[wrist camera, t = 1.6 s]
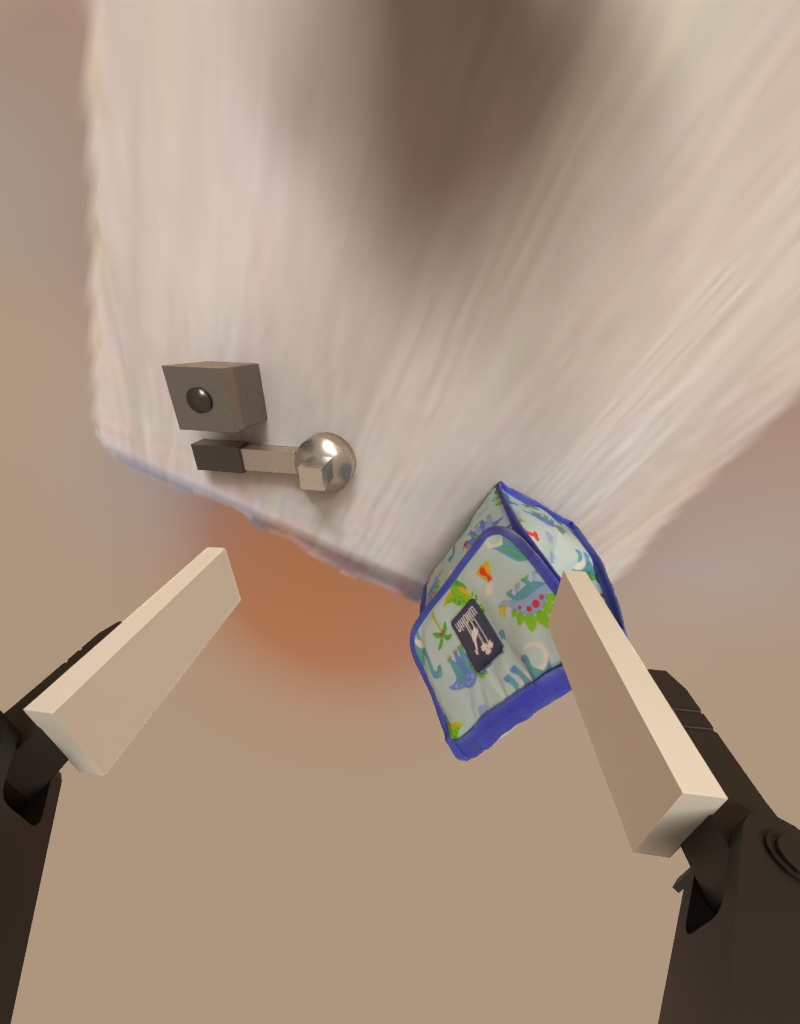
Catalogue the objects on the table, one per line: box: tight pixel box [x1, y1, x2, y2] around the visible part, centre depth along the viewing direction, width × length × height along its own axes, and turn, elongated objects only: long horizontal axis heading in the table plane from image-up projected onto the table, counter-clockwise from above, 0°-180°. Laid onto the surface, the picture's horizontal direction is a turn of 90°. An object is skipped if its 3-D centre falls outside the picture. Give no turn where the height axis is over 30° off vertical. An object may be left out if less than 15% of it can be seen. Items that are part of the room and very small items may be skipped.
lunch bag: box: [410, 481, 628, 761], centre depth 40 cm, size 22×17×26 cm
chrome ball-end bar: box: [191, 433, 356, 493], centre depth 45 cm, size 8×23×8 cm, turn 88°
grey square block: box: [162, 362, 267, 433], centre depth 40 cm, size 7×7×8 cm
